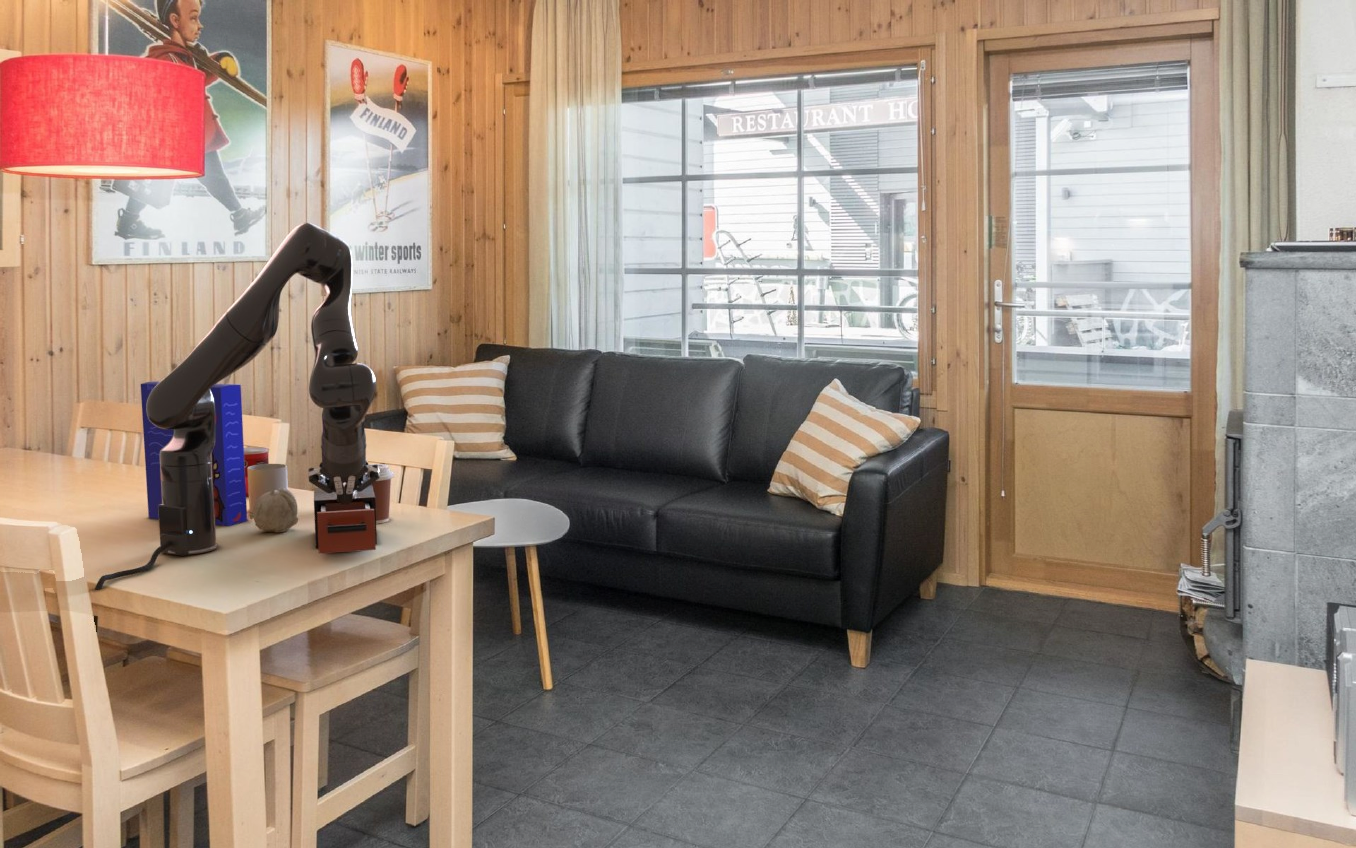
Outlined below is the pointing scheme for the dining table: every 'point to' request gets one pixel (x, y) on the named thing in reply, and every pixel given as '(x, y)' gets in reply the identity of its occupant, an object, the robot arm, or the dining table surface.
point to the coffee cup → (382, 493)
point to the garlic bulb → (275, 511)
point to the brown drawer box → (346, 527)
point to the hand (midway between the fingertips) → (344, 500)
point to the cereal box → (224, 455)
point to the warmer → (330, 498)
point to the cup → (265, 480)
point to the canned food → (254, 460)
